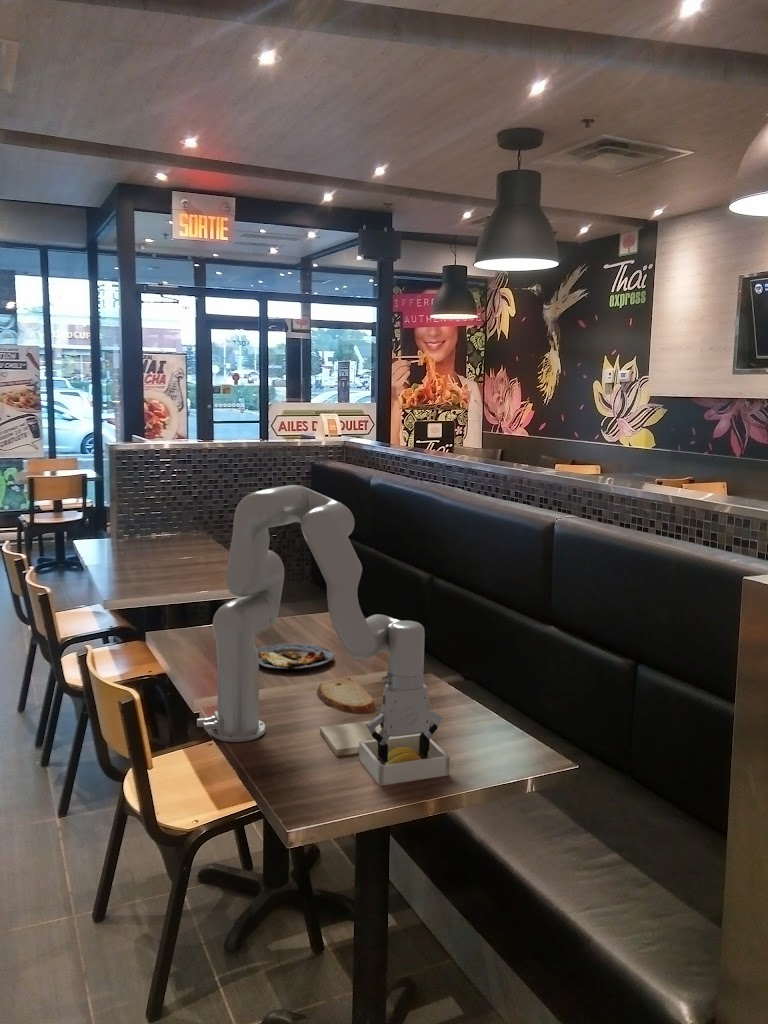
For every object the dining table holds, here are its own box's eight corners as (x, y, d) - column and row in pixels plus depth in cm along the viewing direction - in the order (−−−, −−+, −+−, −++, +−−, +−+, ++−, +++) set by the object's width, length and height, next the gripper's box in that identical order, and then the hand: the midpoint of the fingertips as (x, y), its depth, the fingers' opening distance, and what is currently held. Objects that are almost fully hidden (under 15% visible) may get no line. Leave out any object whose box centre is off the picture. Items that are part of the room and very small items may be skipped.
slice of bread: (372, 716, 206) (373, 701, 206) (303, 708, 210) (304, 694, 210) (388, 691, 224) (388, 678, 223) (324, 685, 228) (324, 671, 227)
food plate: (347, 665, 243) (347, 654, 242) (276, 680, 230) (276, 668, 229) (306, 645, 263) (306, 635, 263) (238, 658, 250) (238, 647, 250)
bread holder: (379, 785, 169) (380, 767, 168) (358, 759, 181) (359, 741, 181) (449, 775, 174) (449, 757, 174) (424, 749, 187) (424, 733, 186)
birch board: (336, 756, 182) (336, 749, 182) (320, 733, 194) (320, 727, 194) (412, 745, 189) (412, 739, 188) (391, 724, 201) (391, 718, 201)
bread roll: (416, 757, 183) (416, 740, 183) (427, 775, 175) (428, 757, 174) (380, 760, 181) (380, 743, 181) (389, 778, 173) (390, 760, 172)
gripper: (372, 690, 169) (371, 770, 171) (450, 681, 175) (447, 759, 177) (360, 678, 175) (359, 755, 178) (435, 670, 182) (433, 745, 184)
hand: (403, 757), depth 177 cm, fingers open, 8 cm apart
